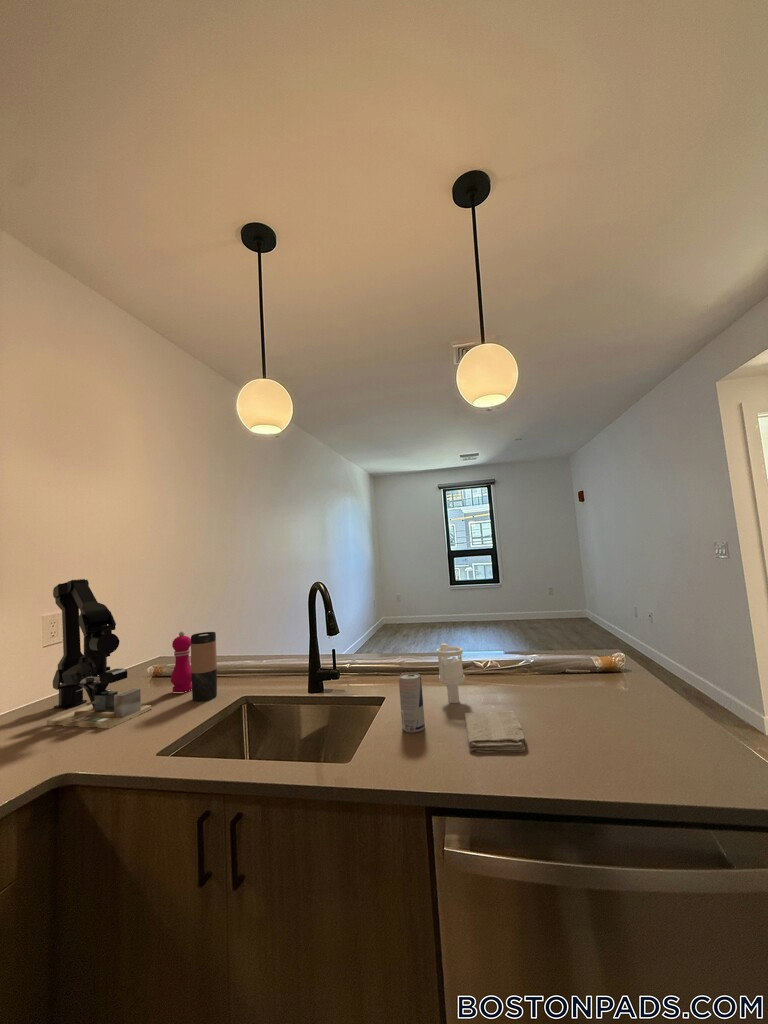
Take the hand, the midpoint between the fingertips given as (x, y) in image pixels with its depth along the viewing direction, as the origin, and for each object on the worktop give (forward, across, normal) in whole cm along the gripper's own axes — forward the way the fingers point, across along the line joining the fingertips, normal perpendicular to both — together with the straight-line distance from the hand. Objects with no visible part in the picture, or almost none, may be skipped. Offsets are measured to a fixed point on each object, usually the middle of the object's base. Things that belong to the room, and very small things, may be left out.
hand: (95, 705), depth 124 cm
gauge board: (+3, +2, 0) cm, 4 cm away
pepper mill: (+3, +10, +24) cm, 26 cm away
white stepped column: (+4, +102, +21) cm, 105 cm away
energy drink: (+4, +96, +2) cm, 96 cm away
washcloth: (+4, +114, +2) cm, 114 cm away
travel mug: (+3, +24, +18) cm, 30 cm away
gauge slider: (+2, +4, -2) cm, 5 cm away
